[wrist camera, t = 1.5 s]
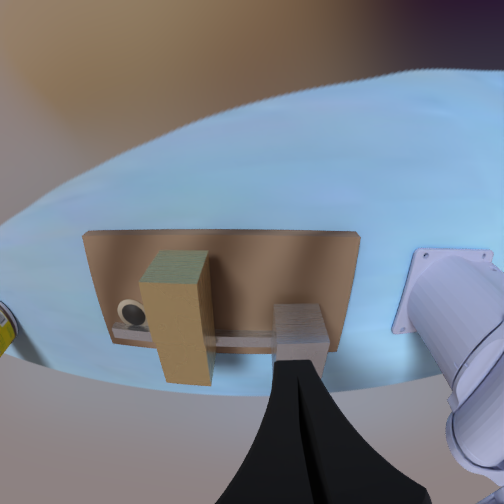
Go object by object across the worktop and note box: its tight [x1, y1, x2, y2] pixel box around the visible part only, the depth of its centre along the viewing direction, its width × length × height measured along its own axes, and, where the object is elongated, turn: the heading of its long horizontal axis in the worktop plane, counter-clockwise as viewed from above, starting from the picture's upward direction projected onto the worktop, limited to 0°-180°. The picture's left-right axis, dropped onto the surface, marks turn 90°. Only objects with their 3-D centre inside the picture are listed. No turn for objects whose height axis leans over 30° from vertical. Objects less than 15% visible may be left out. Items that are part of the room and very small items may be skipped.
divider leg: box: [139, 250, 217, 386], centre depth 17 cm, size 3×8×5 cm, turn 0°
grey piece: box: [112, 303, 330, 379], centre depth 18 cm, size 16×4×5 cm, turn 90°
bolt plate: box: [82, 229, 361, 354], centre depth 20 cm, size 19×10×1 cm, turn 90°
